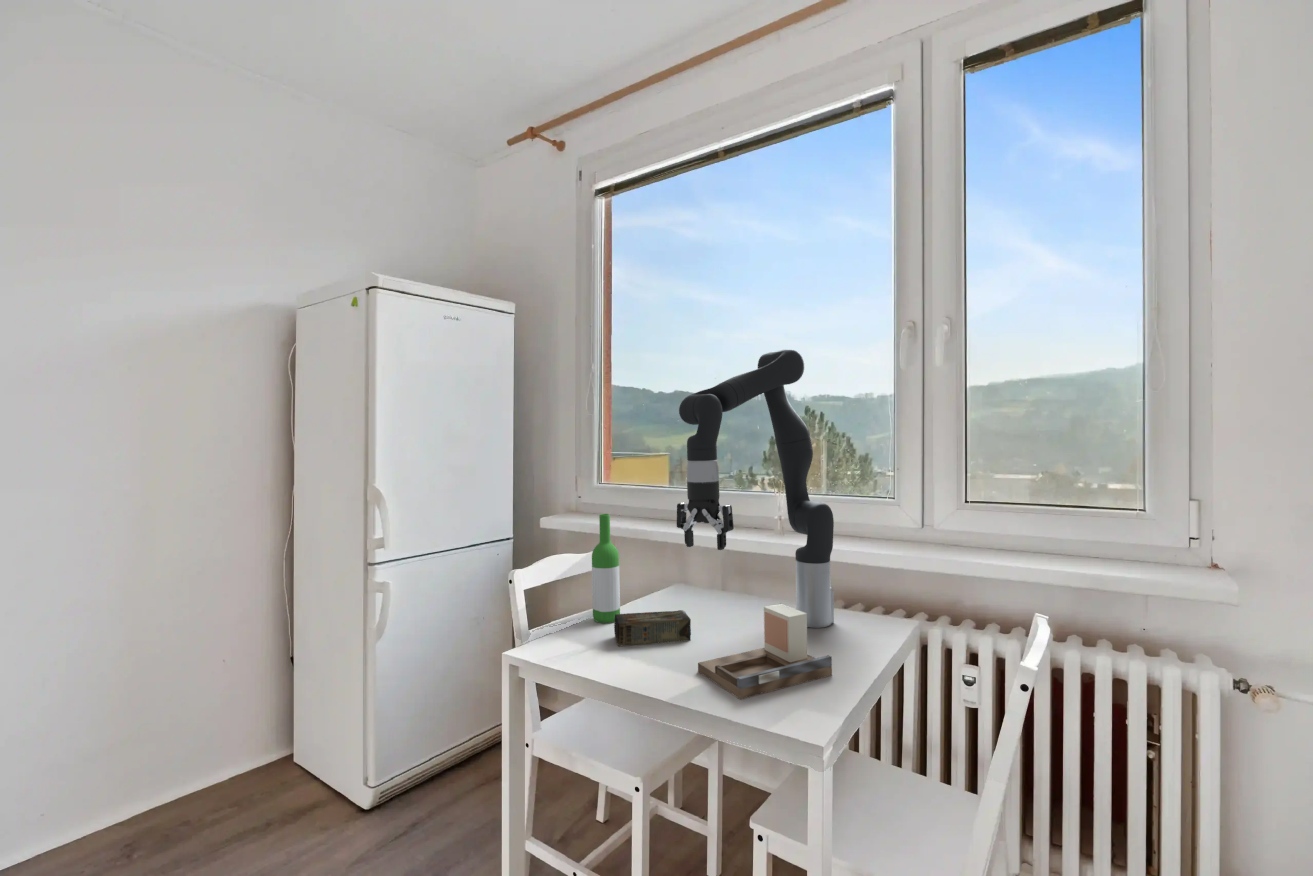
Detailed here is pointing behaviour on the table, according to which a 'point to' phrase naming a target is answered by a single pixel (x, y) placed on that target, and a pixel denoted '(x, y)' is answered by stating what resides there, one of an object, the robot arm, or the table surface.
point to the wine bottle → (605, 576)
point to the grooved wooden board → (762, 672)
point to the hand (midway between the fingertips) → (705, 548)
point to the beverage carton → (652, 627)
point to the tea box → (785, 632)
